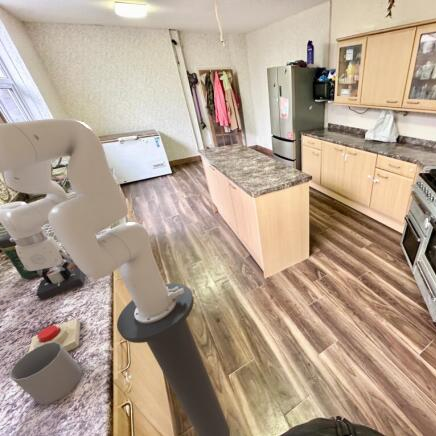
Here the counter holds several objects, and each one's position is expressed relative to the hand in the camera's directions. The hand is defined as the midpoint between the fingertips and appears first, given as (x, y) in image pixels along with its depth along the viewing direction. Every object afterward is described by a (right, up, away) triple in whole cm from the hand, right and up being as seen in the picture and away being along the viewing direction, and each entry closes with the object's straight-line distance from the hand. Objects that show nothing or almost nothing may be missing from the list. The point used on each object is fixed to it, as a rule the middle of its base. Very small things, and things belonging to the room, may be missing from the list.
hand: (59, 278), depth 87 cm
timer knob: (0, 0, 0) cm, 0 cm away
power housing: (+20, -13, -20) cm, 31 cm away
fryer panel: (0, -3, +2) cm, 3 cm away
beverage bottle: (-10, +6, +20) cm, 24 cm away
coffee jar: (-19, 0, +10) cm, 22 cm away
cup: (+30, -18, -30) cm, 46 cm away
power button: (+19, -10, -22) cm, 31 cm away
